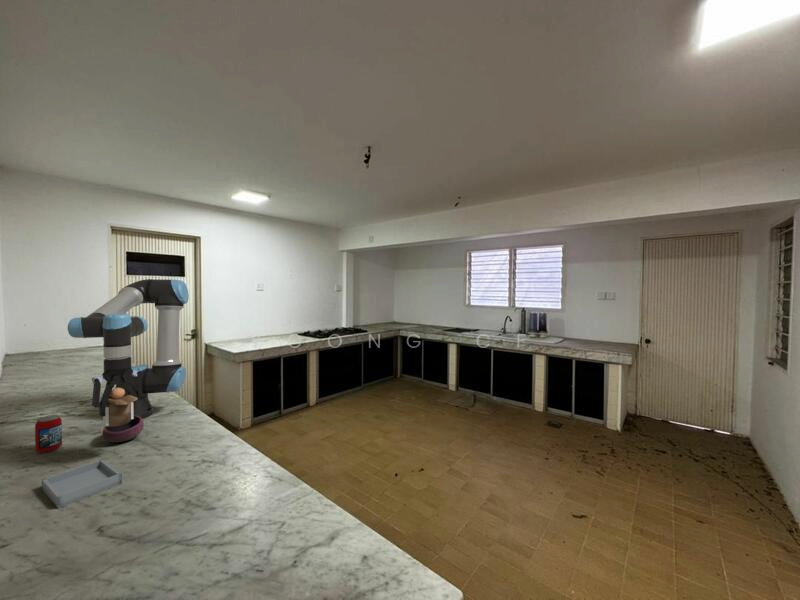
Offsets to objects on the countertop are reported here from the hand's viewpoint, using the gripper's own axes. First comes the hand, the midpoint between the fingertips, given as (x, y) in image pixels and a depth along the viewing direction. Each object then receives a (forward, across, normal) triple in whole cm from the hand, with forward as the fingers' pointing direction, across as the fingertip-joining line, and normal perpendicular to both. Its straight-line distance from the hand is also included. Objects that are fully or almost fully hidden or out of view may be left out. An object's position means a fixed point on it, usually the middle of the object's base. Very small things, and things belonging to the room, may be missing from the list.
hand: (118, 421), depth 118 cm
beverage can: (+13, +12, -27) cm, 32 cm away
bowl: (+13, -6, -16) cm, 21 cm away
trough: (+1, 0, +2) cm, 2 cm away
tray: (+12, +13, +13) cm, 22 cm away
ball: (-10, 0, 0) cm, 10 cm away
